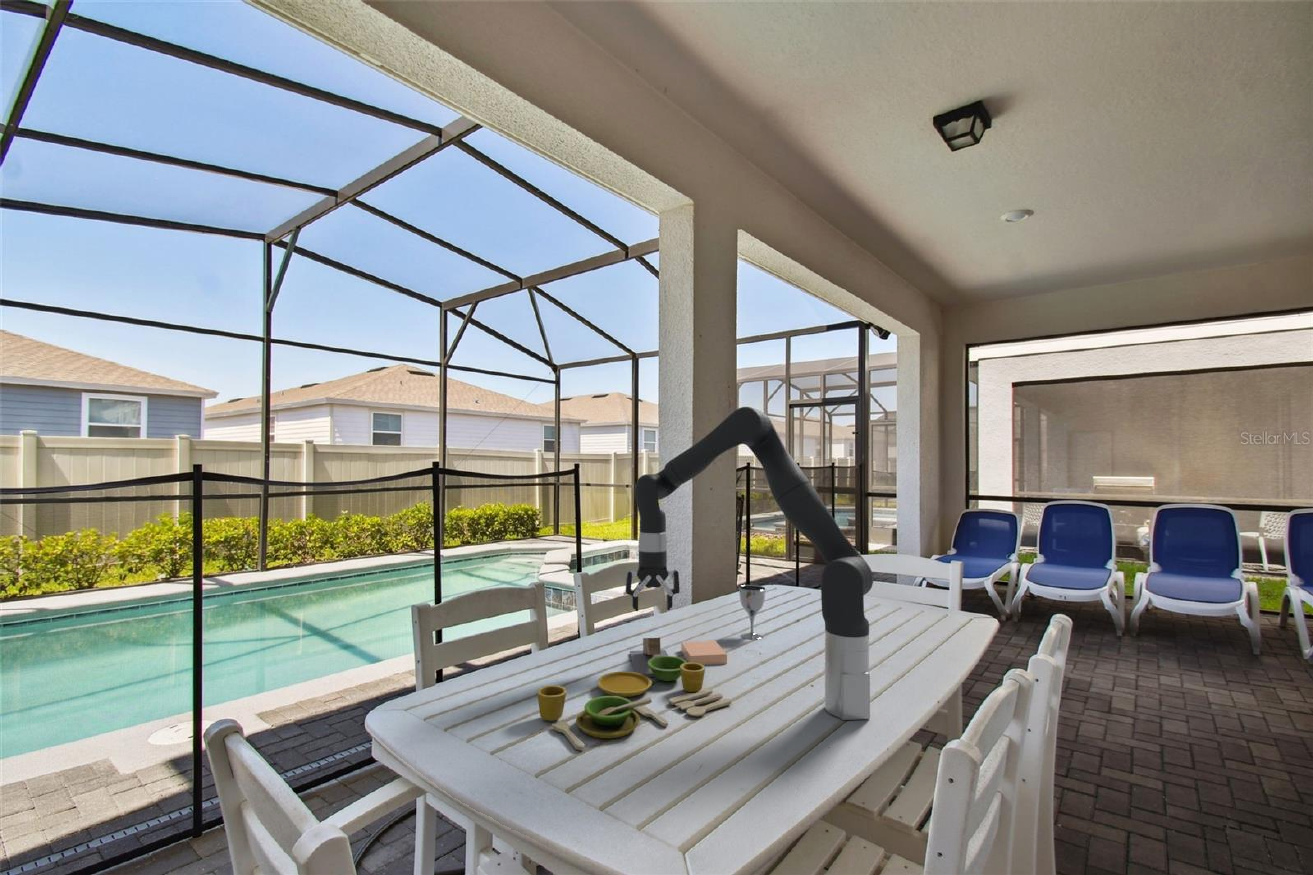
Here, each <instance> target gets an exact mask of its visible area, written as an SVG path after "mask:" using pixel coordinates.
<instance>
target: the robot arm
mask: <svg viewBox="0 0 1313 875" xmlns="http://www.w3.org/2000/svg"><path fill="white" fill-rule="evenodd" d="M740 445H744V446H747V447H748V449H750V451H751V452H752V453H753V456H755V457H756V458H757V460H758V462H759V464H761V467H762V468H763V471H764V473H765V476H766V480H767V483H768V484H767V485H768V486H769V490H770V492H771V495H772V497H773V499H774V501H775V502H776V504H777V505H778V507H779V509H780V510H781V512H782V514H783V515H784V517H785V518H786V519H787V520H788V522H789V523H790V524H791V525H792V527H794V528H795V529H796V530H797V531H798V532H799V533H801V535H803V536H804V537H805V538H806V539H807V540H808V541H809V542H810V543H812V545H813V546H814V547H815V548H816V550H817V551H818V552H819V554H820V555H821V557H822V559H823V561H824V562H825V567H824V568H823V570H822V573H821V578H820V579H821V580H820V589H821V590H820V595H821V596H820V599H821V614H822V619H823V622H824V710H825V711H826V712H827V713H829V714H830V715H832V716H834V717H837V718H840V719H841V720H842V721H849V720H850V721H852V720H853V721H854V720H870V719H871V675H870V623H869V620H868V619H867V617H866V616H865V606H864V604H865V602H864V599H865V598H864V596H865V595H867V594H868V593H869V592H870V590H871V589H872V588H873V584H874V576H873V572H872V569H871V567H870V565H869V564H868V562H867V561H866V560H865V559H864V557H863V556H862V555H861V553H860V552H859V551H858V550H857V549H856V548H855V547H854V546H853V544H852V542H850V540H849V539H848V538H847V537H846V535H845V534H844V533H843V531H842V530H841V528H840V526H839V524H838V523H837V521H836V520H835V518H834V517H833V515H832V514H831V512H830V510H829V509H828V507H827V506H826V504H825V503H824V502H823V500H822V497H821V496H820V495H819V493H818V492H817V490H816V488H815V487H814V486H813V485H812V483H811V481H810V480H809V478H808V477H807V476H806V474H805V473H804V472H803V470H802V469H801V468H800V466H799V464H798V463H797V462H796V461H795V459H794V458H793V457H792V456H791V455H790V453H789V451H788V450H787V449H786V447H785V445H784V443H783V441H782V439H781V438H780V436H779V433H778V432H777V430H776V428H775V425H774V424H773V422H772V420H771V419H770V417H769V416H768V414H766V413H765V412H763V411H762V410H759V409H756V408H754V407H750V406H742V407H739V408H737V409H735V410H734V411H732V413H730V414H729V415H728V416H727V417H726V418H725V419H723V420H722V421H721V422H720V423H719V424H718V425H717V426H716V427H715V428H713V429H712V430H711V431H710V432H709V433H708V434H707V435H705V436H704V437H703V438H702V439H699V441H698V442H696V443H695V444H694V445H692V446H690V447H689V448H688V449H686V450H684V451H682V452H681V453H680V454H678V455H677V456H675V457H673V458H672V459H671V460H669V461H668V462H667V463H666V464H665V465H664V468H663V469H662V470H661V471H658V472H657V473H653V474H652V473H649V474H643V475H641V476H640V477H639V478H638V479H637V481H636V482H635V487H634V495H635V502H636V507H637V511H638V514H639V534H638V535H639V536H638V546H637V548H638V570H637V571H631V570H627V571H626V575H625V576H626V577H625V578H626V579H625V593H626V595H628V596H631V598H632V600H631V601H632V602H631V603H632V609H633V610H634V611H635V612H638V611H639V594H640V593H641V592H642V591H643V590H644V588H645V587H646V589H651V588H656V589H657V588H658V589H659V588H660V587H662V588H663V589H664V592H666V593H667V594H666V595H665V596H666V597H665V598H666V604H665V605H666V608H665V609H666V611H671V609H672V608H673V598H674V597H673V596H675V595H676V594H679V593H680V590H681V589H680V576H679V575H680V574H679V571H678V570H677V569H673V570H668V566H667V564H668V562H667V560H668V559H667V558H668V557H667V555H668V554H667V550H668V549H667V546H668V544H667V543H668V541H667V540H668V539H667V534H666V531H667V528H666V527H667V526H666V525H667V520H666V512H665V511H664V510H662V509H661V507H660V501H661V500H663V499H665V498H666V497H668V496H670V495H671V494H673V493H674V492H676V490H678V489H679V488H680V487H681V486H682V485H684V484H686V482H688V481H690V480H692V479H694V478H695V477H697V476H698V475H700V474H702V472H703V471H705V470H706V469H707V468H708V467H709V466H710V465H712V463H713V462H714V461H715V459H717V458H718V457H719V456H720V455H722V454H724V453H725V452H727V451H729V450H731V449H733V448H735V447H738V446H740ZM669 576H670V579H671V580H673V581H672V582H673V585H672V586H673V588H671V589H670V587H669V586H668V584H667V583H666V582H665V581H666V580H667V579H668V577H669ZM635 577H637V578H638V580H639V581H638V583H637V584H636V586H635V588H634V589H632V582H633V580H635Z"/></svg>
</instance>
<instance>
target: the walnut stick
mask: <svg viewBox="0 0 1313 875" xmlns="http://www.w3.org/2000/svg"><path fill="white" fill-rule="evenodd" d="M642 650H643V654H648V655H656V654H661V653H660V650H661V637H646V638H645V637H643V638H642Z"/></svg>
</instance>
